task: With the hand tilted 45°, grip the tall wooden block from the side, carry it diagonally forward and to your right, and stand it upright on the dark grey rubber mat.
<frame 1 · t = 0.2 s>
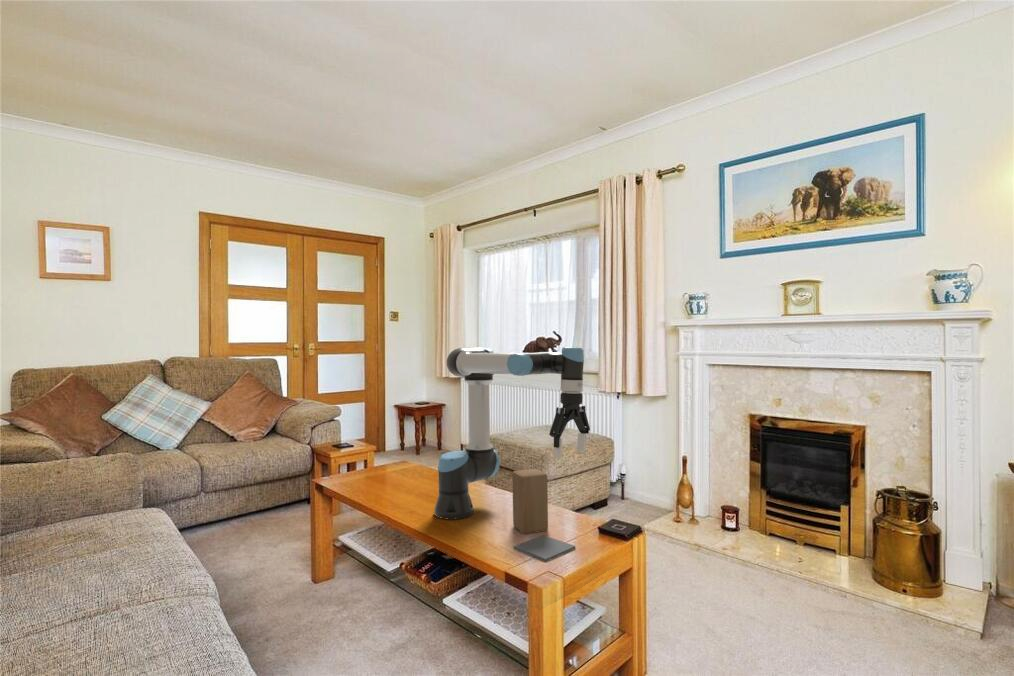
hand: (569, 454, 174), 28 cm above the table, tool pointing down, fingers open, 13 cm apart
wooden block: (530, 529, 181), on the table
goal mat: (544, 548, 163), on the table
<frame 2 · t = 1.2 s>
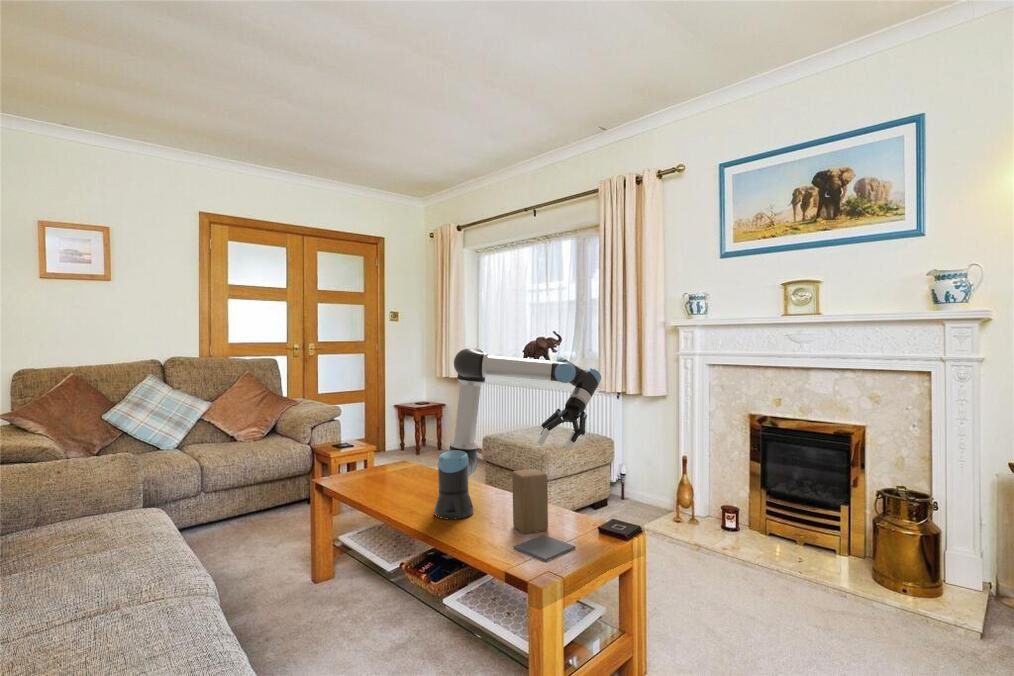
hand: (552, 446, 190), 28 cm above the table, tool tilted 45°, fingers open, 13 cm apart
nothing on the table moved.
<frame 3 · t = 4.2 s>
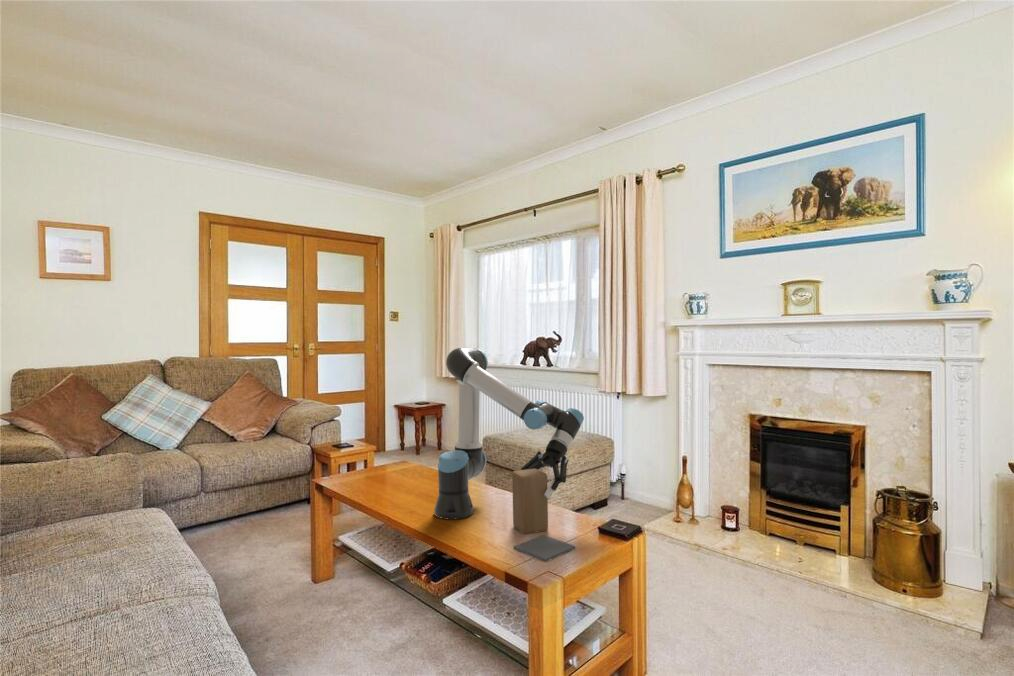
hand: (532, 493, 181), 12 cm above the table, tool tilted 45°, fingers open, 13 cm apart
wooden block: (530, 529, 181), on the table, touching gripper
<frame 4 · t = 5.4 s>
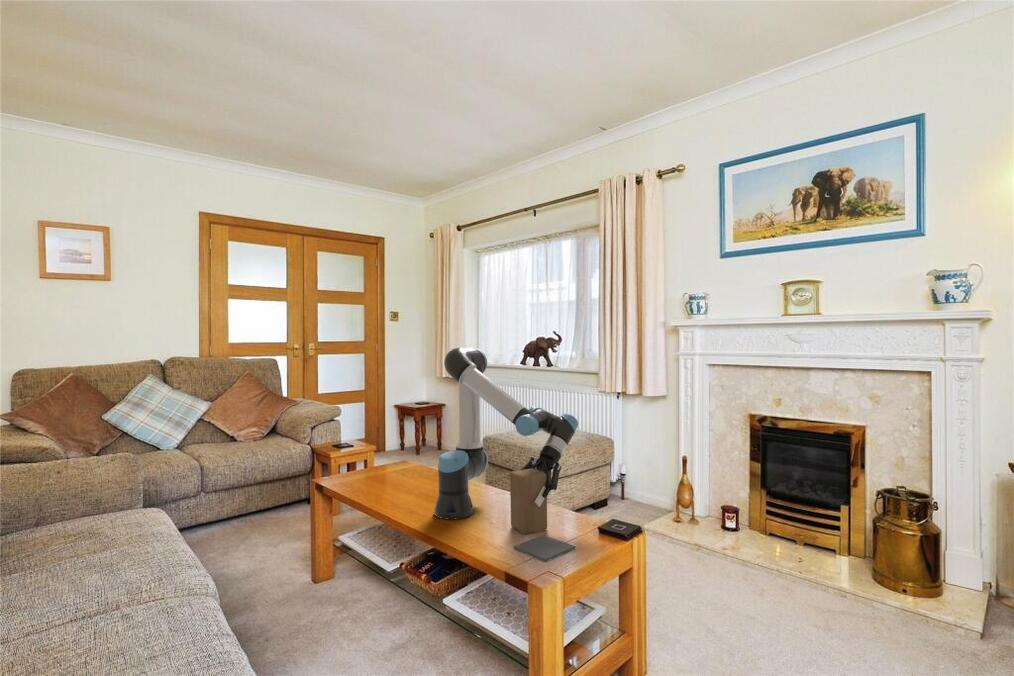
hand: (524, 500, 180), 10 cm above the table, tool tilted 45°, fingers closed on wooden block, 12 cm apart
wooden block: (528, 529, 181), on the table, touching gripper
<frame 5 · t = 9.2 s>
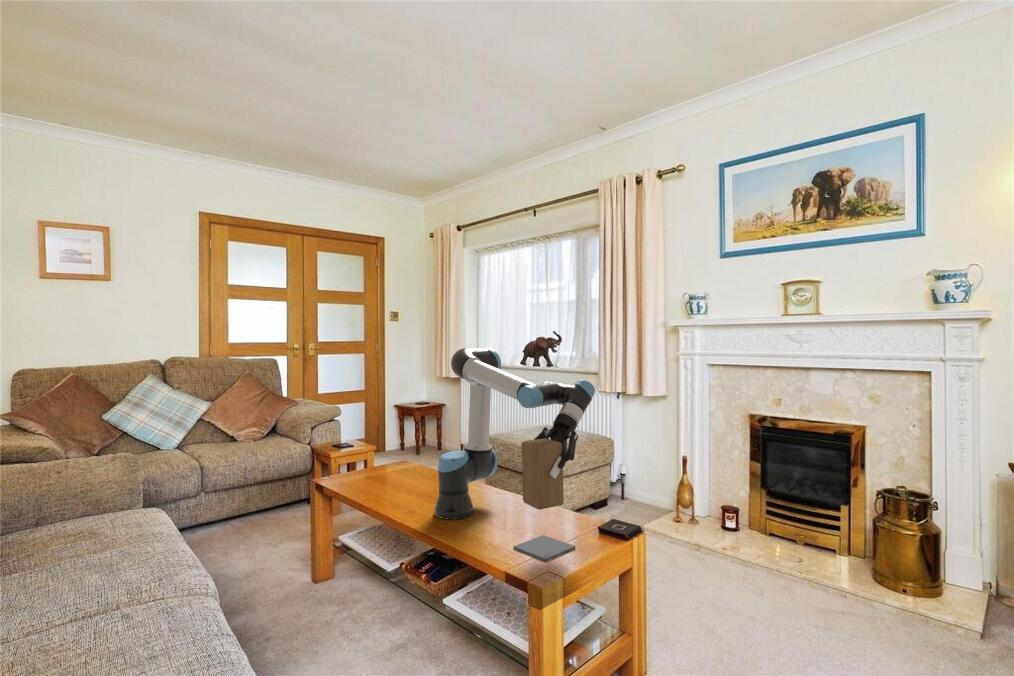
hand: (537, 473, 162), 24 cm above the table, tool tilted 45°, fingers closed on wooden block, 12 cm apart
wooden block: (543, 504, 163), point 14 cm above the table, touching gripper
when the fingers open (13 cm above the table, at t = 12.7 s): wooden block drops 2 cm, resting on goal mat.
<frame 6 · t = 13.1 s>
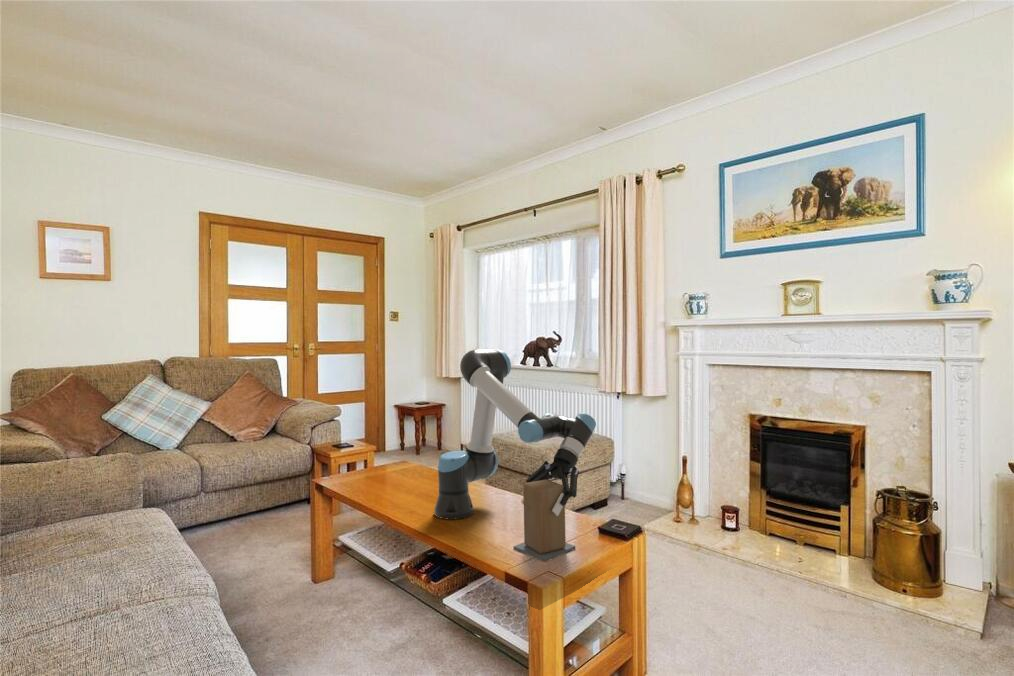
hand: (538, 508, 161), 13 cm above the table, tool tilted 45°, fingers open, 13 cm apart
wooden block: (544, 547, 162), point 1 cm above the table, touching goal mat
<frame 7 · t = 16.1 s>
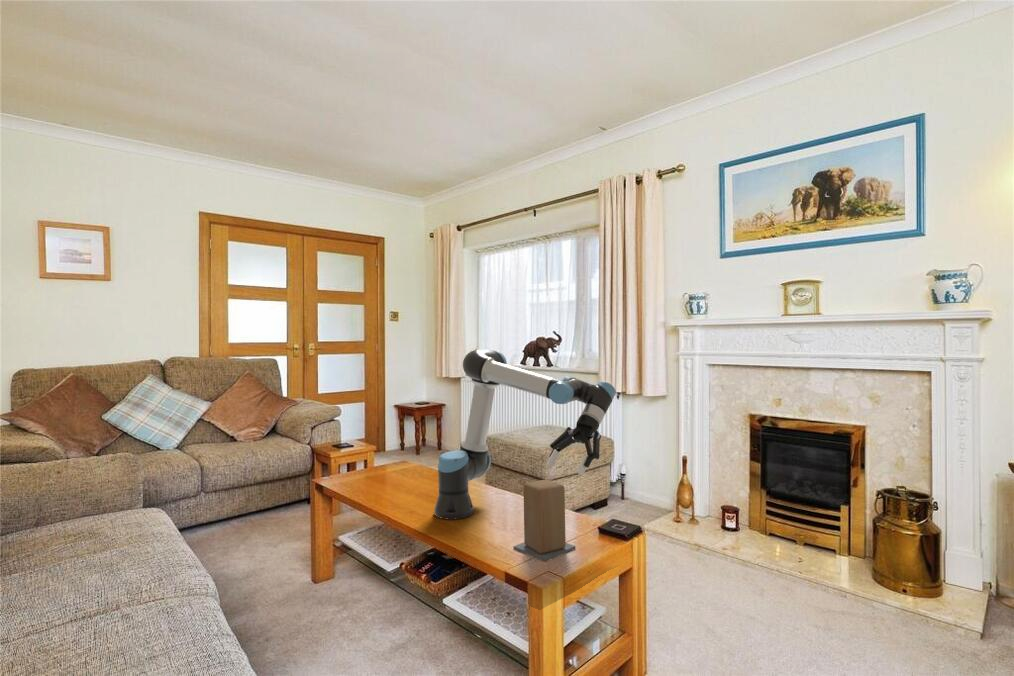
hand: (563, 470, 171), 23 cm above the table, tool tilted 45°, fingers open, 13 cm apart
nothing on the table moved.
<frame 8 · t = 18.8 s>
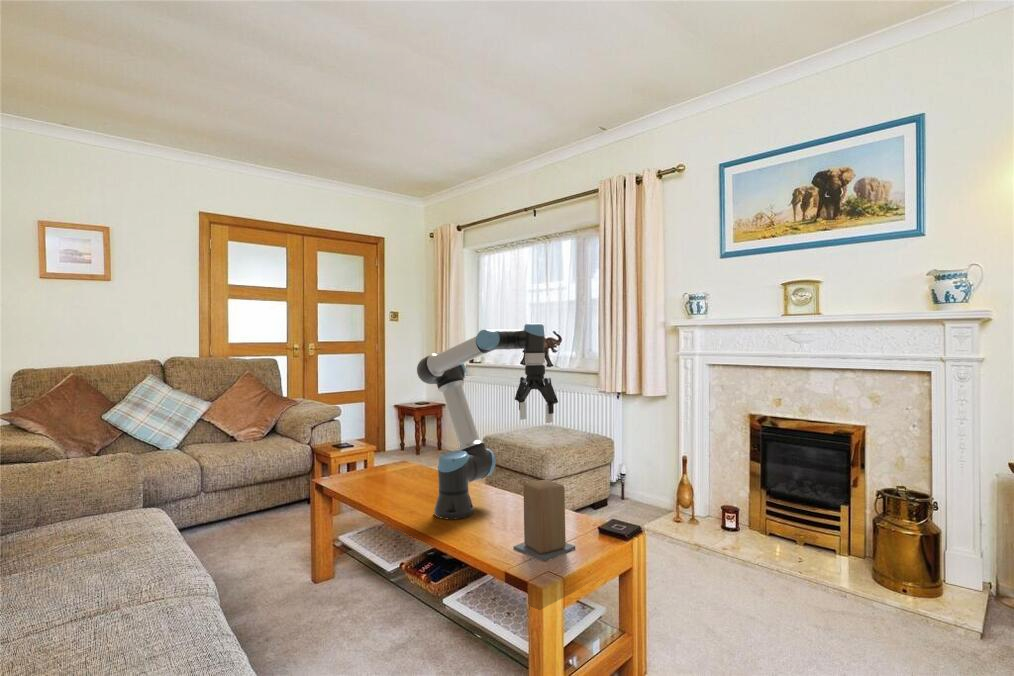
hand: (535, 421, 192), 37 cm above the table, tool pointing down, fingers open, 13 cm apart
nothing on the table moved.
at the end: wooden block inside the target area on the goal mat (0.6 cm from its centre), point 0.6 cm above the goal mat's base; wooden block tilted 0°; the gripper is holding nothing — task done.
